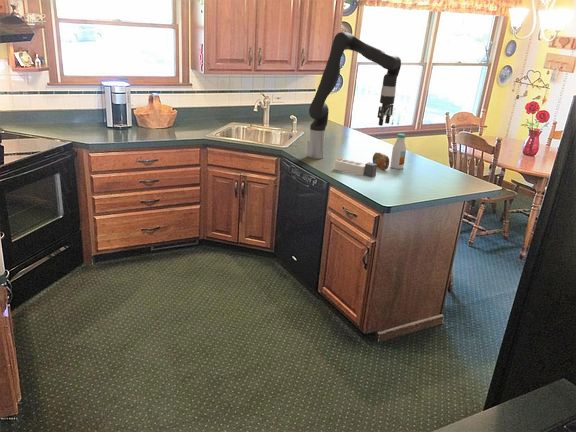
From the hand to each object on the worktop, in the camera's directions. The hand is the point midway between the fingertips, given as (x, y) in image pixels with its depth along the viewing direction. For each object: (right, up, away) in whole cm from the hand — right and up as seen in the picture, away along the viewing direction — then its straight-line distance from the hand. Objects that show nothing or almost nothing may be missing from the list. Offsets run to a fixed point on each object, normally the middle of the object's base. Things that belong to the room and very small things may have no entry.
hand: (383, 124), depth 274 cm
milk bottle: (+12, -22, +21) cm, 33 cm away
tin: (+1, -22, +19) cm, 29 cm away
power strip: (-17, -25, +8) cm, 31 cm away
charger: (-8, -27, +3) cm, 29 cm away
